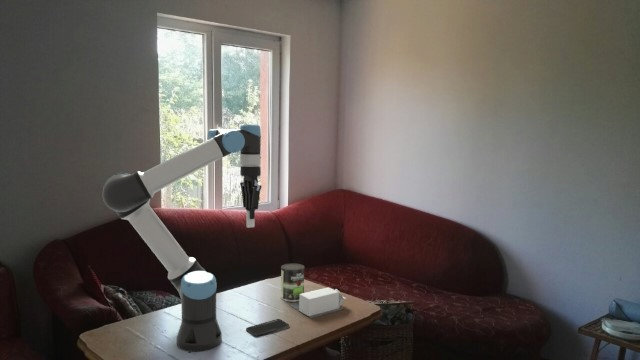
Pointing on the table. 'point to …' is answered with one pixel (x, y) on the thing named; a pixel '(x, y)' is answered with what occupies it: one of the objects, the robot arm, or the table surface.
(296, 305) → the mat
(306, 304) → the milk carton
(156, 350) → the table surface
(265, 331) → the phone
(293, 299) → the coffee can
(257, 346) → the table surface
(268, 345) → the table surface
